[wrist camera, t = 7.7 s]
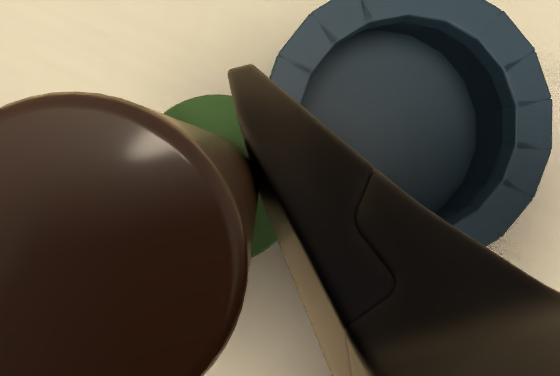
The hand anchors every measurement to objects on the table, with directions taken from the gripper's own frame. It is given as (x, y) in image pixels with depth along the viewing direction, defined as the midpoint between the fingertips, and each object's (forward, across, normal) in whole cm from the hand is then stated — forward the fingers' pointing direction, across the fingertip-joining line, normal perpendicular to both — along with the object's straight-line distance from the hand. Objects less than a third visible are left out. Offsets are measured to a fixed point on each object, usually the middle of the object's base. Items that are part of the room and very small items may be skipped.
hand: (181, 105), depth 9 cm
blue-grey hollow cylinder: (+8, -6, +11) cm, 15 cm away
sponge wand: (+4, 0, +6) cm, 7 cm away
